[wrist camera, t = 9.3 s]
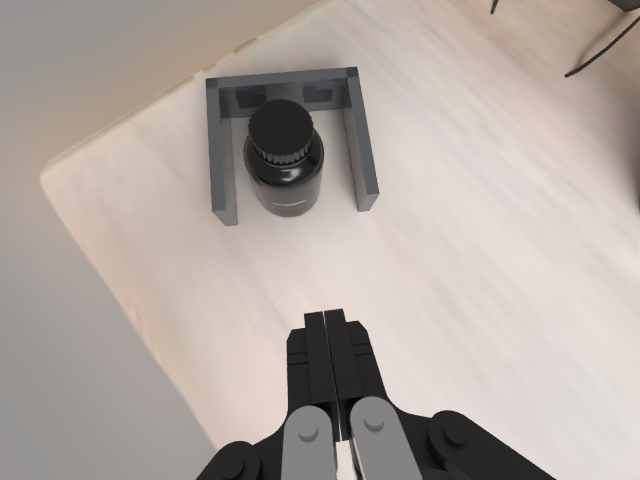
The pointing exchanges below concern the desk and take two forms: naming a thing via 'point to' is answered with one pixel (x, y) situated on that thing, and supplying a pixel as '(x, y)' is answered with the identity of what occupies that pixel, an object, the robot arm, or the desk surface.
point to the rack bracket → (312, 94)
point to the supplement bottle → (284, 157)
